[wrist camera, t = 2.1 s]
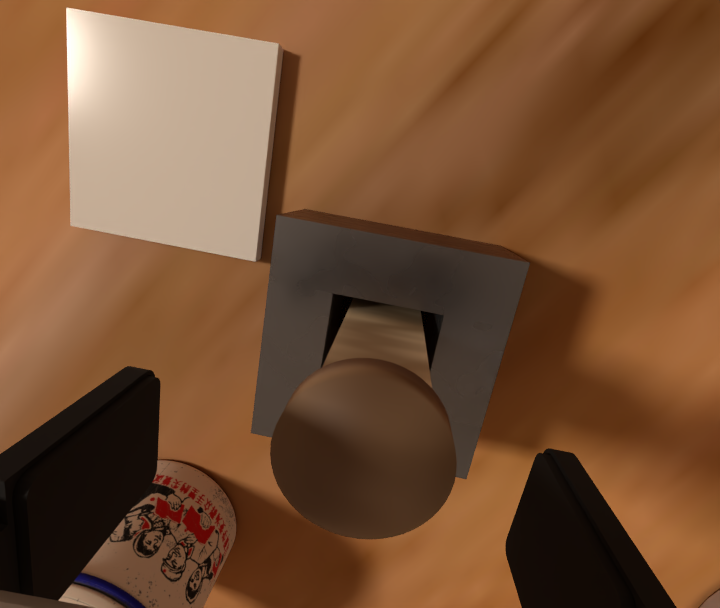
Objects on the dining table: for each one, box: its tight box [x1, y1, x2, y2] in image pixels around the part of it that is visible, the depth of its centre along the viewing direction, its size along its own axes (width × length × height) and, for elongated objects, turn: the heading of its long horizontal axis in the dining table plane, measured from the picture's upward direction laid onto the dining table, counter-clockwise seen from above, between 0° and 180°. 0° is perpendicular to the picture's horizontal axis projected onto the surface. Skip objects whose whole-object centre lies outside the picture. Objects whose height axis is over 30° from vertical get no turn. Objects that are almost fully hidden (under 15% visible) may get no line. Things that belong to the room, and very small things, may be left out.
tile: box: [66, 8, 284, 262], centre depth 21 cm, size 10×10×1 cm
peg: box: [270, 298, 457, 539], centre depth 17 cm, size 5×5×12 cm
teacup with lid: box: [58, 460, 236, 608], centre depth 22 cm, size 12×9×12 cm
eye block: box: [251, 209, 530, 479], centre depth 20 cm, size 10×10×5 cm
